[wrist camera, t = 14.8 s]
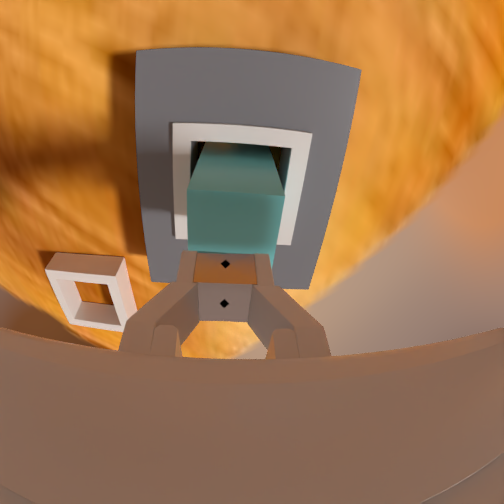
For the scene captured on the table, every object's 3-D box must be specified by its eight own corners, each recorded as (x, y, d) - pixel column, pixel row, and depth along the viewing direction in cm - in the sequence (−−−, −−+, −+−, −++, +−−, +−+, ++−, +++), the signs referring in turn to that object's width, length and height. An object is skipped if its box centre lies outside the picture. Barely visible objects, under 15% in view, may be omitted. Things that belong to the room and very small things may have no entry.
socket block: (159, 257, 23) (150, 284, 21) (152, 52, 14) (134, 50, 11) (301, 264, 24) (308, 292, 22) (343, 67, 15) (363, 70, 12)
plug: (204, 193, 20) (188, 265, 14) (206, 139, 18) (186, 189, 11) (260, 196, 20) (271, 270, 14) (267, 143, 18) (285, 196, 12)
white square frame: (77, 306, 27) (69, 323, 25) (56, 252, 22) (44, 269, 20) (138, 314, 28) (132, 333, 26) (124, 257, 23) (115, 276, 21)
